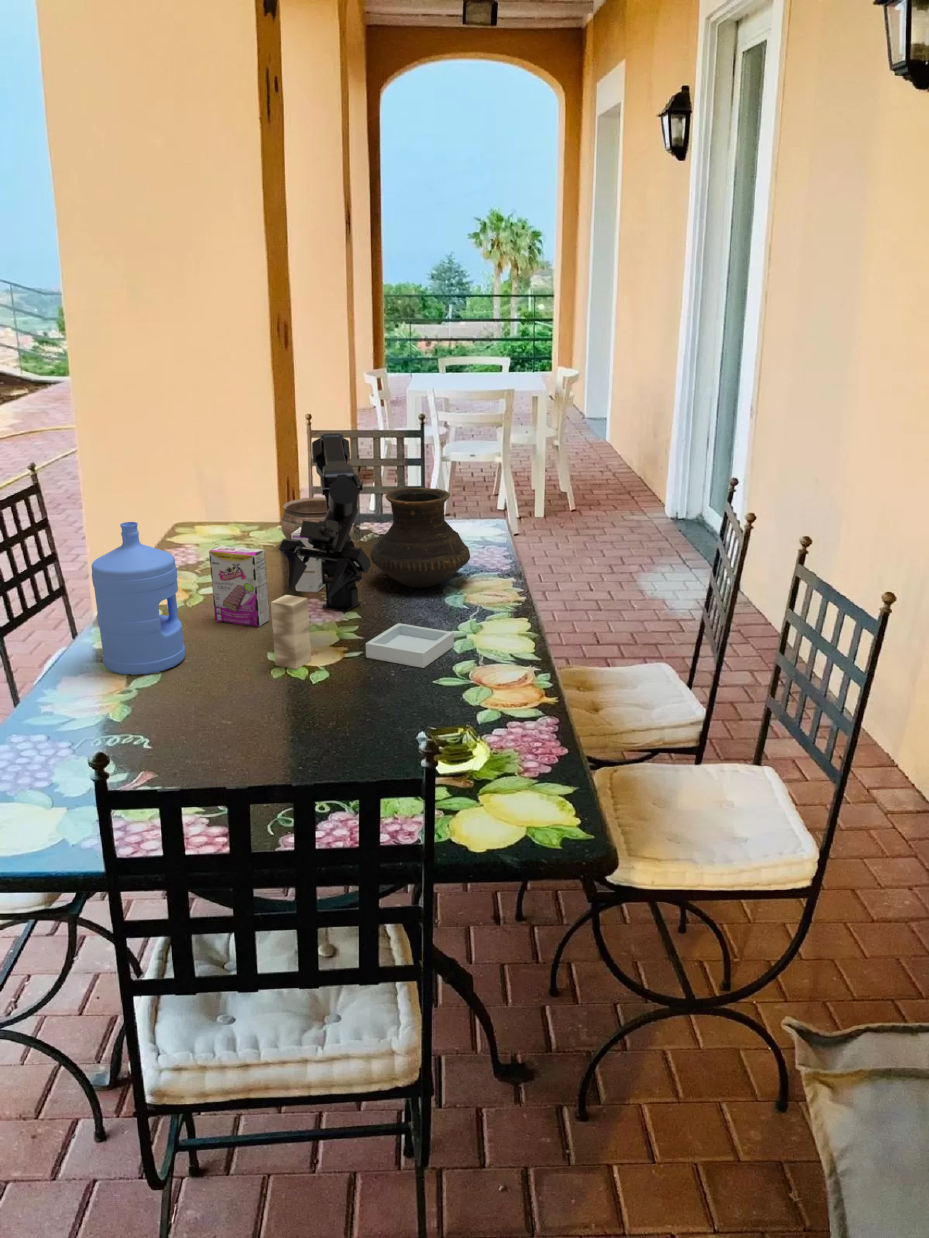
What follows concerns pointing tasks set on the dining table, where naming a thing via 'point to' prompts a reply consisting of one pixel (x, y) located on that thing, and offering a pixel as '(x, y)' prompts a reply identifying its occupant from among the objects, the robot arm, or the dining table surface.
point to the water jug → (137, 607)
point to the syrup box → (309, 569)
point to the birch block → (291, 631)
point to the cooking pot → (302, 513)
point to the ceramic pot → (419, 539)
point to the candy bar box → (239, 585)
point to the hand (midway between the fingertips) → (309, 592)
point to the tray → (410, 645)
